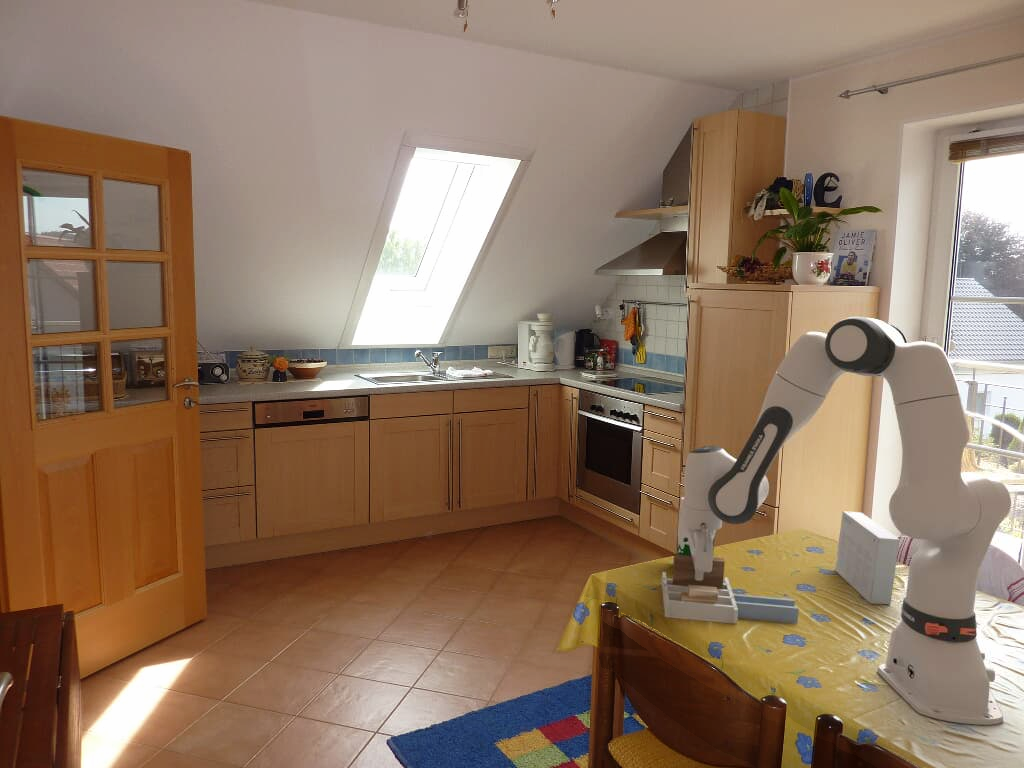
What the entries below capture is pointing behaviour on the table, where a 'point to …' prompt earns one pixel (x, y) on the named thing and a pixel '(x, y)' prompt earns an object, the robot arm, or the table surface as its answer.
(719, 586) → the walnut sheet
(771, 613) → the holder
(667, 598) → the rack
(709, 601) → the offcut mid
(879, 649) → the table surface
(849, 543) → the skincare box
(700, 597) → the offcut top
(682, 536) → the milk carton
